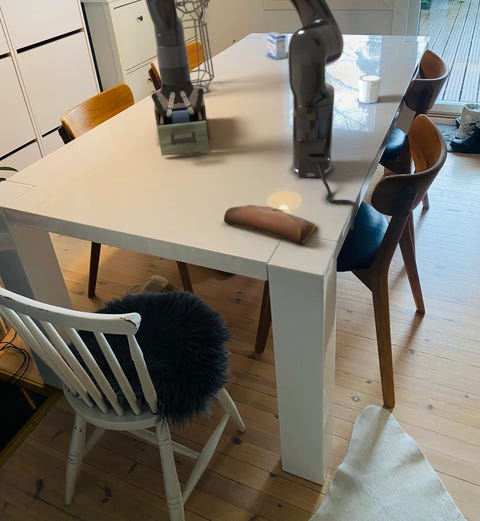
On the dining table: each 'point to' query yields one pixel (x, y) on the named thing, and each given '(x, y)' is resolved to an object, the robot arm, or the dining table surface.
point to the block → (180, 117)
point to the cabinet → (180, 107)
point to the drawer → (183, 136)
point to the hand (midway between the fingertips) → (182, 127)
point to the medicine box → (276, 45)
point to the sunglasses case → (270, 221)
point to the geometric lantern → (200, 38)
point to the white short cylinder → (369, 88)
